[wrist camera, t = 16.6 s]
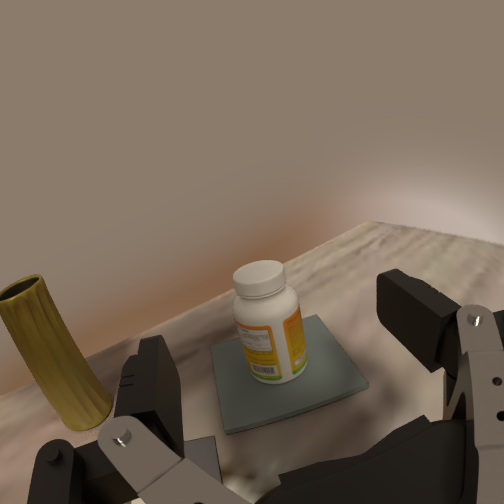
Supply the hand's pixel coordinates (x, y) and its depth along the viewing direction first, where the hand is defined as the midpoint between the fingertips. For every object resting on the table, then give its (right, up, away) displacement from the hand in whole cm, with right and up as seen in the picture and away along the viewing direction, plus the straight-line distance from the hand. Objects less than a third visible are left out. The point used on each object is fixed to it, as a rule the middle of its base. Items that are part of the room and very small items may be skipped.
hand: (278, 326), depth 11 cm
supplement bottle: (+2, -8, +17) cm, 19 cm away
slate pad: (+2, -8, +17) cm, 19 cm away
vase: (-17, -14, +15) cm, 27 cm away
